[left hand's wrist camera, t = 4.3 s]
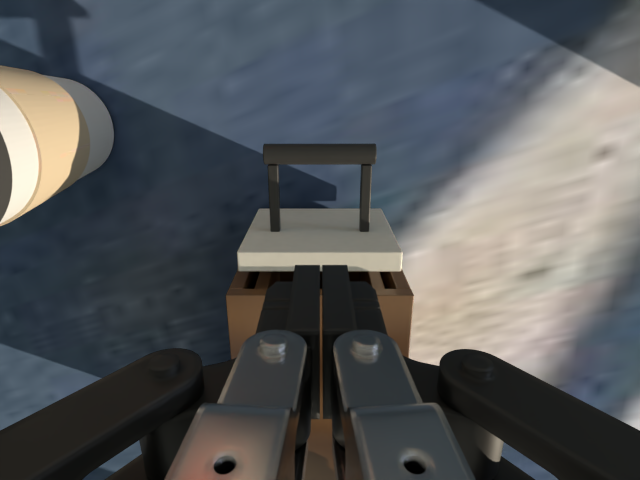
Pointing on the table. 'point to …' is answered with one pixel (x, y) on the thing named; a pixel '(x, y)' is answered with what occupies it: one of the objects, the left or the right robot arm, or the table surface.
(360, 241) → the drawer
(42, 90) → the coffee cup
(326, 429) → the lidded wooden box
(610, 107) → the table surface
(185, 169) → the table surface
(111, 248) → the table surface
